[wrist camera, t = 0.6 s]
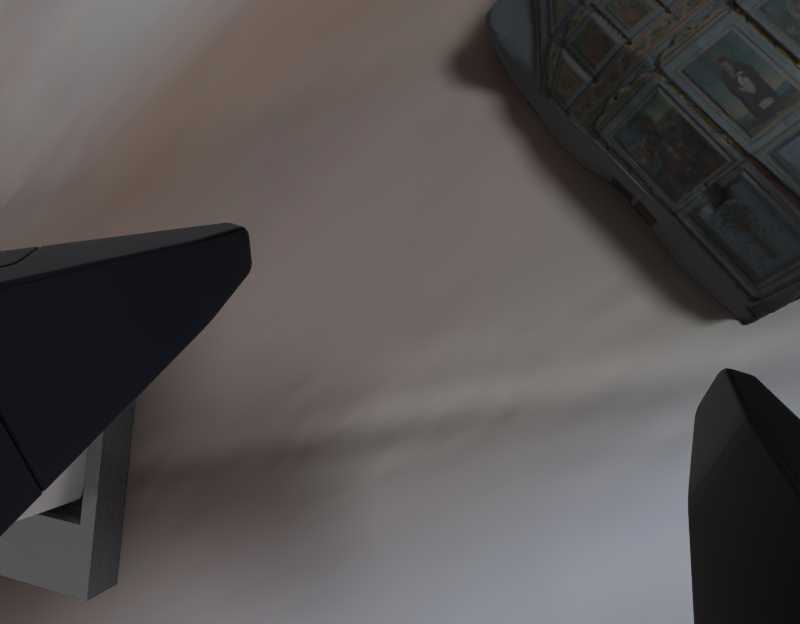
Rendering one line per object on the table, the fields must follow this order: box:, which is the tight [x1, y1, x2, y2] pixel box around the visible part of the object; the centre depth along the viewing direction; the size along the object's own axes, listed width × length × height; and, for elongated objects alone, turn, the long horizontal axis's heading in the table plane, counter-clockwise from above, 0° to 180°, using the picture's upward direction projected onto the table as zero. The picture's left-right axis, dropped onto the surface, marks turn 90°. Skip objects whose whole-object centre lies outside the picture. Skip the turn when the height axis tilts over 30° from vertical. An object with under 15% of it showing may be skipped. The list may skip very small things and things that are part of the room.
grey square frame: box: [0, 400, 135, 601], centre depth 30 cm, size 14×12×2 cm
